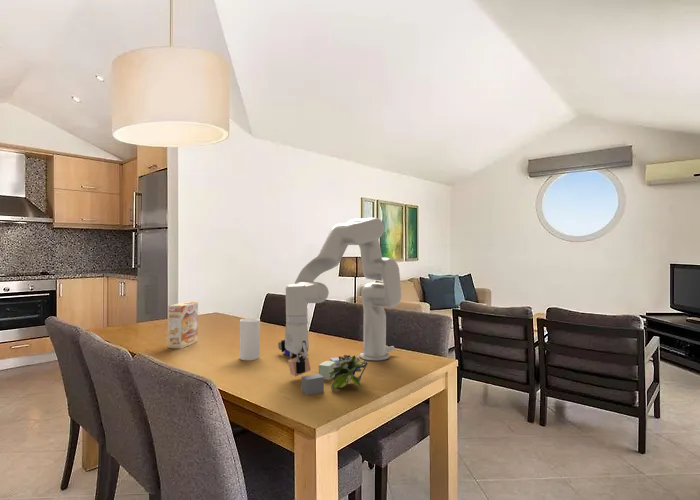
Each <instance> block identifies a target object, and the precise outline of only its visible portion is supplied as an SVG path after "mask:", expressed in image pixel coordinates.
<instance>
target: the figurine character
mask: <svg viewBox="0 0 700 500" xmlns="http://www.w3.org/2000/svg"><path fill="white" fill-rule="evenodd" d="M277 348H278V350H280V351H281V353H282V355H285V356H287V355H288V356H290V353H289V351H288V350H286V349H285V339H284V340H281V341H279V342H278V343H277ZM300 352H302V351H300ZM301 355H302V354H301Z"/></svg>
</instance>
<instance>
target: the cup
mask: <svg viewBox="0 0 700 500" xmlns="http://www.w3.org/2000/svg"><path fill="white" fill-rule="evenodd" d="M260 357H261V319H260V318H258V317H256V318H255V317H248V318H247V317H246V318H241V319H239V359H240V361H241V360H243V361H256V360H258V359H260Z"/></svg>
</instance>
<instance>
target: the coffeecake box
mask: <svg viewBox="0 0 700 500" xmlns="http://www.w3.org/2000/svg"><path fill="white" fill-rule="evenodd" d="M167 318H168V322H167V323H168V324H167V325H168V326H167V327H168V331H167V332H168V333H167V336H168V337H167V339H168V340H167V343H168V345H167V348H169V349H184V348H186V347H189V346H191V345H194V344H195V343H198V340H199V339H198V336H199V334H198V333H199V332H198V331H199V330H198V329H199V328H198V327H199V319H198V318H199V302H198V301H184V302H179V303H175V304H169V305H168V317H167Z"/></svg>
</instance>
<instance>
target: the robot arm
mask: <svg viewBox="0 0 700 500" xmlns="http://www.w3.org/2000/svg"><path fill="white" fill-rule="evenodd" d="M384 233H385V224H384V222H383V221H382V220H381V219H380V218H378V217H365V218H364V217H362V218H359V217H358V218H353V219H349V220H348V221H347V222H346V223H345V222H342V223H337V224H334V226H333V227H332V228H331V229H330V231H329V233H328V236H327V237H326V239H325V242H324V243H323V245H322V247H321V249H320V251H319V253H318V255H316V256H314V257H313V259H311V261H309V262H308V263H307V264H306V265H305V266H303V268H302V269H301V270H300V272H299V274H298V276H297V278H296V279H295V281H294V283H291V284H287V286H286V287H285V322H286V323H285V329H284V330H285V332H284V340H285V349H286V350H288V351H289V353H290V355H289V360H290V359H293V358H295V357H297V362H296V373H297V374H299V373H303V374H305V373H304V372H305V361H306V357H309V353H308V352H309V330H308V318H309V317H308V316H309V315H308V312H309V311H308V304H321V303H323V302H325V301H326V300H327V298H328V297H329V293H330V292H329V289H328V287H327V285H326V284H324V283H322V282H319V281H317V282H316V281H315V280H316V279H317V278H318V277H319V276H320V275H321V274H324V273H325V272H327V271H330V270H332V269H335V268H337V266H339V264H340V263H341V261H342V258H343V257H344V254H345V253H346V250H347V249H348V247H349V246H359V250H360V251H359V252H360V258H361V269H362V274H363V276H364V278H365V279H367V280H371V281H380V282H369V283H366V284H365V285H363V287H362V289H361V300H362V301H361V302H362V308H363V340H362V341H363V345H362V346H363V347H362V349H363V351H362V352H360V353H359V359H360V358H361V359H362V360H365V361H377V362H378V361H386V360H387V359H389V358H390V353H389V352H393V351H395V350H396V349H395V346H394V345H391V346H388V345H387V314H386V310H385V308H384V307H387V308H395V307H397V306H398V305H399V304H400V303H401V299H402V287H401V275H400V268H399V265H398V263H397V262H396V260H395V259H393V258H391V257H383V255H382V250H381V245H380V242H379V240H378V239H381V237H382V236H383V234H384ZM381 281H382V282H381ZM300 351H302V352H300ZM301 354H302V355H301ZM300 355H301V356H300Z"/></svg>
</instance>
